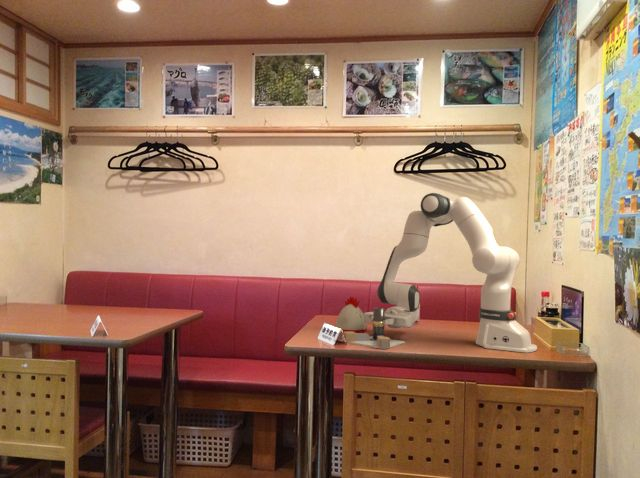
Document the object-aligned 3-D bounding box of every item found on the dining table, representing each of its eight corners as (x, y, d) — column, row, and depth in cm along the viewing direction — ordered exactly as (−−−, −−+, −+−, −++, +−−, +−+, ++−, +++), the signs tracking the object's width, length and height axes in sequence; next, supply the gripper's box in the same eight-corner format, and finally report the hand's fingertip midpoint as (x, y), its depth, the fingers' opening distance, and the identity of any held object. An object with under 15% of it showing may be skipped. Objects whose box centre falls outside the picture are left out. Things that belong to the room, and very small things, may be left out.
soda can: (418, 322, 249) (419, 298, 249) (420, 324, 242) (420, 299, 242) (404, 321, 250) (405, 297, 250) (405, 324, 243) (406, 299, 243)
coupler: (386, 338, 199) (387, 308, 199) (380, 340, 196) (381, 309, 196) (376, 336, 202) (377, 307, 202) (370, 338, 199) (370, 308, 199)
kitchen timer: (350, 335, 211) (351, 299, 211) (328, 330, 222) (329, 296, 222) (373, 331, 221) (374, 297, 221) (351, 327, 231) (352, 294, 231)
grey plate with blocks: (408, 343, 196) (408, 333, 196) (386, 350, 183) (386, 340, 183) (357, 335, 211) (357, 326, 211) (334, 341, 197) (334, 331, 197)
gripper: (373, 307, 216) (355, 310, 205) (416, 312, 203) (400, 316, 192) (373, 322, 216) (355, 326, 205) (416, 327, 203) (400, 332, 192)
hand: (377, 321), depth 198 cm, fingers closed on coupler, 5 cm apart
